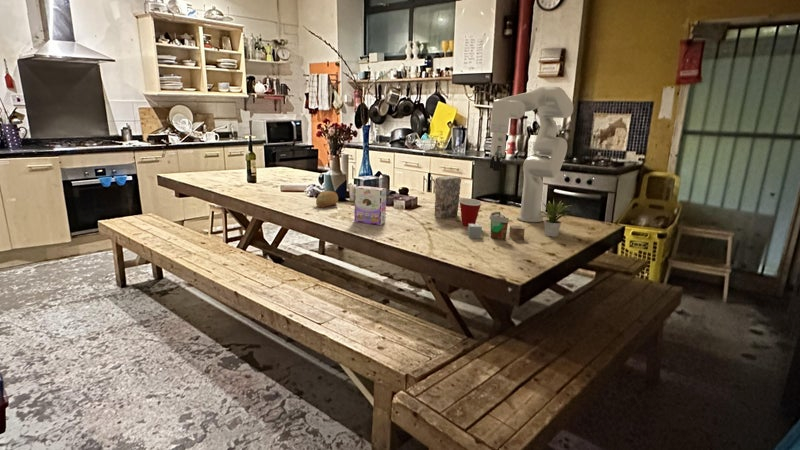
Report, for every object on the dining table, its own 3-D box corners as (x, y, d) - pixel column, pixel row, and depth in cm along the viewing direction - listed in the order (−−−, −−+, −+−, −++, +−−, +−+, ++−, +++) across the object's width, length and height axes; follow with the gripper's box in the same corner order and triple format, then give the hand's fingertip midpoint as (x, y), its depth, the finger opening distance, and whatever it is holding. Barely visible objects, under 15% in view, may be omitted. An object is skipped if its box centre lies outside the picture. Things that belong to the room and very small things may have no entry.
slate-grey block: (479, 235, 198) (480, 223, 197) (480, 238, 194) (481, 226, 192) (467, 234, 198) (468, 223, 197) (469, 238, 194) (470, 226, 192)
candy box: (386, 223, 212) (387, 188, 208) (380, 225, 207) (381, 189, 203) (360, 219, 218) (360, 185, 214) (353, 221, 213) (354, 186, 209)
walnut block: (520, 237, 198) (521, 225, 197) (523, 240, 193) (524, 228, 192) (509, 236, 198) (510, 225, 197) (511, 239, 193) (512, 227, 192)
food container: (484, 233, 202) (486, 211, 199) (498, 233, 202) (500, 211, 200) (492, 241, 190) (494, 217, 187) (506, 241, 190) (509, 218, 188)
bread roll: (342, 204, 249) (343, 190, 247) (327, 209, 236) (327, 194, 234) (328, 202, 253) (328, 188, 251) (312, 207, 240) (312, 192, 238)
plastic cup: (465, 229, 206) (467, 203, 203) (452, 224, 216) (454, 199, 213) (485, 227, 211) (487, 202, 208) (471, 222, 220) (473, 197, 217)
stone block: (443, 219, 224) (446, 178, 219) (432, 216, 228) (434, 177, 223) (459, 215, 233) (462, 176, 228) (448, 213, 238) (451, 175, 233)
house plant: (564, 242, 192) (569, 204, 188) (531, 236, 199) (535, 199, 195) (571, 235, 204) (576, 199, 200) (540, 230, 211) (544, 195, 207)
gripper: (512, 130, 187) (507, 172, 191) (504, 129, 204) (500, 168, 208) (493, 129, 188) (489, 171, 191) (487, 128, 204) (483, 167, 208)
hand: (494, 169), depth 200 cm, fingers open, 9 cm apart
